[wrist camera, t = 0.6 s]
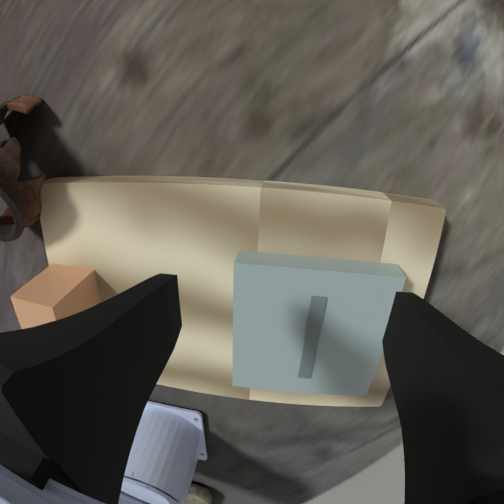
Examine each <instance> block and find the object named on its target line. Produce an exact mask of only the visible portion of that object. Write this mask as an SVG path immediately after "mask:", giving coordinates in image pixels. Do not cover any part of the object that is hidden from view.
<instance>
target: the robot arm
mask: <svg viewBox="0 0 504 504" xmlns="http://www.w3.org/2000/svg"><path fill="white" fill-rule="evenodd" d="M181 328H182V318H181V309H180V299H179V289H178V278H177V275H173V274H163V273H160V274H157V275H155V276H152V277H150V278H148V279H146V280H144V281H142V282H140V283H138V284H137V285H135V286H133V287H131V288H129V289H127V290H125V291H123V292H121V293H119V294H118V295H116V296H114V297H112V298H109V299H107V300H105V301H103V302H101V303H99V304H97V305H95V306H93V307H91V308H88V309H86V310H84V311H81V312H79V313H76V314H73V315H71V316H68V317H65V318H62V319H59V320H56V321H52V322H49V323H45V324H42V325H38V326H35V327H31V328H26V329H21V330H15V331H9V332H3V333H0V504H183V503H184V501H185V500H186V498H187V495H188V492H189V488H190V485H191V482H192V478H193V475H194V471H195V468H196V465H197V461H198V459H199V460H207V457H208V456H207V449H206V441H205V433H204V425H203V417H202V414H201V413H200V412H199V411H194V410H189V409H184V408H179V407H174V406H169V405H165V404H160V403H156V402H152V401H148V400H149V397H150V395H151V393H152V391H153V389H154V388H155V386H156V384H157V382H158V380H159V378H160V376H161V374H162V372H163V370H164V368H165V366H166V364H167V362H168V360H169V358H170V356H171V354H172V352H173V350H174V348H175V345H176V343H177V340H178V337H179V334H180V331H181ZM382 345H383V352H384V359H385V366H386V370H387V373H388V377H389V381H390V384H391V388H392V392H393V395H394V399H395V403H396V406H397V410H398V414H399V418H400V423H401V428H402V437H403V447H404V461H405V504H504V355H502V354H500V353H498V352H497V351H495V350H493V349H492V348H490V347H488V346H487V345H485V344H483V343H482V342H480V341H479V340H477V339H476V338H474V337H473V336H472V335H470V334H469V333H467V332H466V331H465V330H463V329H462V328H460V327H459V326H458V325H456V324H455V323H454V322H452V321H451V320H450V319H449V318H447V317H446V316H445V315H443V314H442V313H441V312H440V311H438V310H437V309H436V308H434V307H433V306H432V305H430V304H429V303H428V302H426V301H425V300H424V299H422V298H421V297H419V296H418V295H416V294H414V293H413V292H396V294H395V298H394V301H393V305H392V309H391V312H390V316H389V319H388V323H387V326H386V330H385V333H384V336H383V340H382Z"/></svg>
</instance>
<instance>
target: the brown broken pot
mask: <svg viewBox="0 0 504 504" xmlns="http://www.w3.org/2000/svg"><path fill="white" fill-rule="evenodd" d="M41 104H42V100H41V99H40V98H37V97H35V96H19V97H16V98H14V99H12V100H11V101H7V102H4V103H3V104H1V105H0V125H2V124H3V123H4V119H5V115H6V113H7V111H8V110H11V111H18V112H21V113H25V114H28V113H30V112H31V110H32V109H33V108H34V107H37V106H39V105H41ZM20 153H21V146H20V144H19V142H18V141H17V139H16V138H14V137H12V138H11V139H10V141H9V142H7V143H6V145H5V146H4V147H1V148H0V197H1V198H2V199H3V200H4V201H5V202H6V204H7V205H8V207H9V208H6V209H5V211H4V212H3V214H2V216H0V241H6V242H7V241H12V240H15V239H17V238H19V237H20V236H21V234H22V232H23V230H24V228H25V227H28V226H30V225H32V224H33V223H35V222H36V221H37V220H38V219H39V218H40V216H41V213H40V212H41V211H42V203H41V198H40V193H41V188H42V186H43V183H44V178H45V175H44V174H41V175H40V176H38V177H35V178H32V179H26V180H22V181H17V179H18V176H19V174H20V170H21V163H20Z"/></svg>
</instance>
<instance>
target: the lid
mask: <svg viewBox="0 0 504 504" xmlns="http://www.w3.org/2000/svg"><path fill="white" fill-rule="evenodd" d="M405 279H406V277H405V275H404V274H403V272H402V270H401V269H400V267H399V265H398V264H389V263H377V262H366V261H355V260H344V259H332V258H321V257H310V256H298V255H287V254H276V253H264V252H253V251H242V250H239V251H238V254H237V256H236V258H235V261H234V276H233V377H232V386H239V387H247V388H255V389H264V390H274V391H285V392H298V393H313V394H334V395H367V393H368V390H369V388H370V385H371V383H372V380H373V378H374V375H375V372H376V370H377V367H378V364H379V362H380V359H381V356H382V353H383V345H382V340H383V336H384V333H385V330H386V326H387V323H388V319H389V316H390V312H391V309H392V305H393V301H394V298H395V294H396V292H402V290H403V286H404V283H405Z"/></svg>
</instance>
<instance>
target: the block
mask: <svg viewBox="0 0 504 504" xmlns="http://www.w3.org/2000/svg"><path fill="white" fill-rule="evenodd" d="M10 297H11V300H12V303H13V306H14V309H15V312H16V315H17V317H18V320H19V323H20V326H21V328H22V329H26V328H31V327H35V326H38V325H42V324H45V323H49V322H52V321H56V320H59V319H62V318H65V317H68V316H71V315H73V314H76V313H79V312H81V311H84V310H86V309H88V308H91V307H93V306H95V305H97V304H99V303H101V300H100V296H99V291H98V286H97V281H96V276H95V270H93V269H86V268H79V267H73V266H66V265H59V264H52V265H50V266H49V267H48V268H46V269H45V270H44V271H42V272H41V273H40V274H38V275H37V276H36V277H34V278H33V279H32V280H31V281H29V282H28V283H27V284H25V285H24V286H23V287H22V288H20V289H19V290H18V291H17V292H15V293H14V294H13V295H12V296H10Z"/></svg>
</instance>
